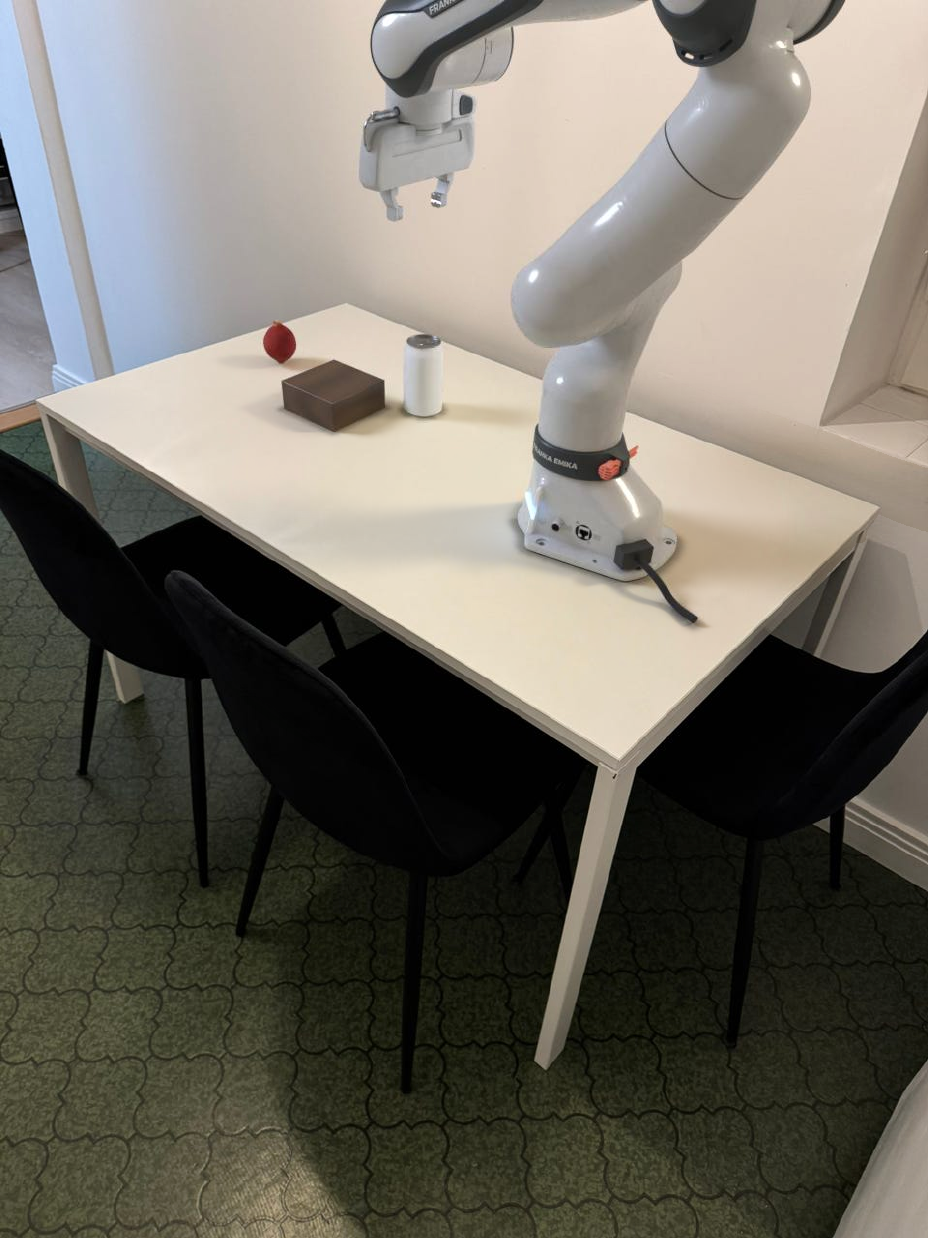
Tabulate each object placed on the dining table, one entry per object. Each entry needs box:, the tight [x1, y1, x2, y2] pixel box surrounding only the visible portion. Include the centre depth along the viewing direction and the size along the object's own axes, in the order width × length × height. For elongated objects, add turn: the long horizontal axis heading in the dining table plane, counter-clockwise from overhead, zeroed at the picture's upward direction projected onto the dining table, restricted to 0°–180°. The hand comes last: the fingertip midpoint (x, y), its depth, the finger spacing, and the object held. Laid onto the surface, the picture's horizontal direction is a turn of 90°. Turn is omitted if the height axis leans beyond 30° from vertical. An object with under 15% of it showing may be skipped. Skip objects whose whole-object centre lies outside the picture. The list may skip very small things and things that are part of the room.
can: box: [403, 333, 444, 418], centre depth 150 cm, size 6×6×12 cm
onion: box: [262, 319, 297, 364], centre depth 163 cm, size 6×6×8 cm
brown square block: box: [281, 359, 386, 433], centre depth 151 cm, size 12×12×5 cm
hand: (417, 212), depth 128 cm, fingers open, 8 cm apart
